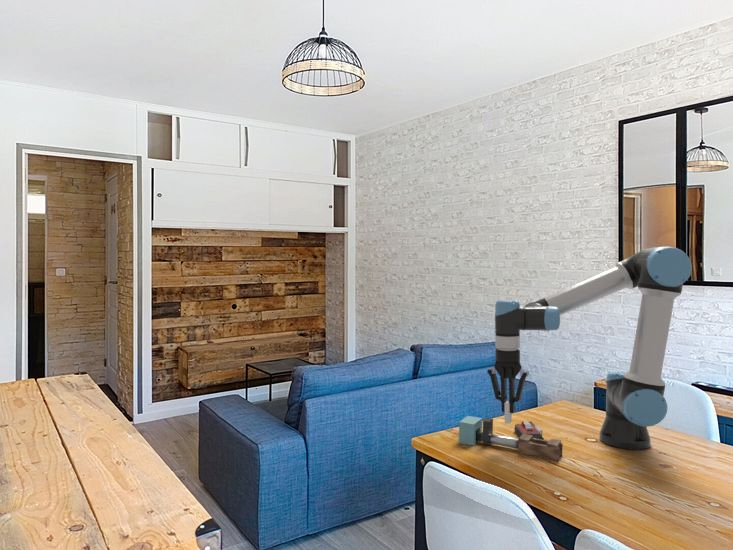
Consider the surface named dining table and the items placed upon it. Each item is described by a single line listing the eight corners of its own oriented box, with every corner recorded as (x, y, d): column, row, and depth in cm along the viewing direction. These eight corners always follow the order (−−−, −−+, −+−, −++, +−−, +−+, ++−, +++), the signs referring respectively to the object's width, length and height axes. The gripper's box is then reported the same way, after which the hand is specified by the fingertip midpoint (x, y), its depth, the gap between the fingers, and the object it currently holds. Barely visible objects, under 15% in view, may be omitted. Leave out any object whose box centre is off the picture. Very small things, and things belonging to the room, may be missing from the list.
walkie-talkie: (550, 444, 174) (533, 426, 194) (550, 431, 174) (533, 414, 194) (523, 444, 174) (509, 425, 194) (523, 430, 174) (509, 413, 194)
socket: (481, 438, 178) (482, 418, 177) (473, 445, 171) (473, 424, 171) (467, 436, 180) (467, 415, 180) (458, 443, 173) (459, 421, 173)
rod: (532, 449, 167) (533, 425, 167) (529, 453, 163) (530, 428, 163) (472, 437, 177) (472, 415, 177) (467, 441, 174) (468, 418, 174)
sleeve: (562, 455, 163) (562, 440, 163) (558, 461, 158) (558, 445, 158) (523, 448, 169) (523, 433, 169) (518, 453, 164) (518, 438, 164)
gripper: (531, 348, 168) (532, 422, 169) (491, 345, 175) (492, 416, 176) (525, 352, 162) (525, 428, 162) (483, 348, 169) (484, 422, 169)
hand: (508, 422), depth 169 cm, fingers closed
